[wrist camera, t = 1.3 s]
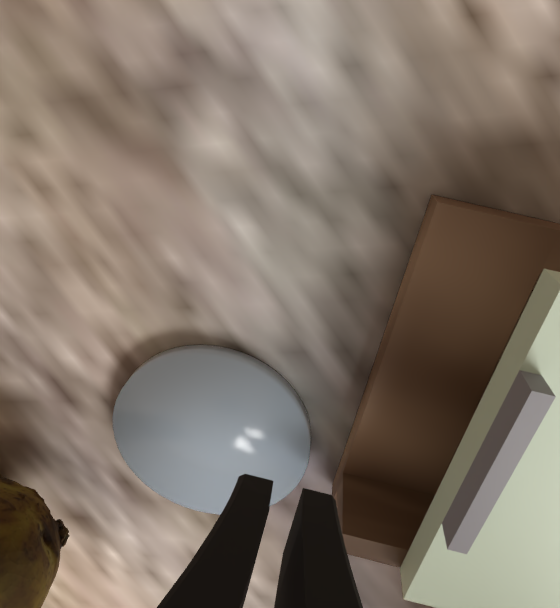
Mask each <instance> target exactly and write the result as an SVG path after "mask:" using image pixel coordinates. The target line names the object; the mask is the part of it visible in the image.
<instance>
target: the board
mask: <svg viewBox="0 0 560 608" xmlns="http://www.w3.org/2000/svg"><path fill="white" fill-rule="evenodd" d="M543 269H548V270H553V271H557V272H560V224H558V223H554V222H550V221H545V220H541V219H536V218H532V217H528V216H523V215H519V214H515V213H510V212H506V211H502V210H497V209H493V208H489V207H484V206H480V205H475V204H471V203H467V202H462V201H458V200H454V199H449V198H445V197H441V196H436V195H431V198H430V201H429V204H428V207H427V210H426V212H425V215H424V218H423V221H422V224H421V227H420V230H419V233H418V236H417V239H416V242H415V245H414V248H413V250H412V253H411V256H410V259H409V262H408V265H407V268H406V271H405V274H404V277H403V280H402V283H401V286H400V289H399V291H398V294H397V297H396V300H395V303H394V306H393V309H392V312H391V315H390V318H389V321H388V324H387V327H386V329H385V332H384V335H383V338H382V341H381V344H380V347H379V350H378V353H377V356H376V359H375V362H374V365H373V367H372V370H371V373H370V376H369V379H368V382H367V385H366V388H365V391H364V394H363V397H362V400H361V403H360V405H359V408H358V411H357V414H356V417H355V420H354V423H353V426H352V429H351V432H350V435H349V438H348V441H347V443H346V446H345V449H344V452H343V455H342V458H341V461H340V464H339V467H338V470H337V473H336V476H335V479H334V481H333V484H332V496H333V498H334V499H335V500H336V506H337V511H338V517H339V522H340V526H341V531H342V535H343V540H344V544H345V548H346V551H347V554H349V555H353V556H357V557H361V558H365V559H369V560H373V561H377V562H380V563H384V564H388V565H392V566H396V567H401V565H402V563H403V561H404V559H405V557H406V555H407V553H408V551H409V549H410V546H411V544H412V542H413V540H414V538H415V536H416V534H417V532H418V530H419V528H420V526H421V524H422V521H423V519H424V517H425V515H426V513H427V511H428V509H429V507H430V505H431V503H432V501H433V499H434V496H435V494H436V492H437V490H438V488H439V486H440V484H441V482H442V480H443V478H444V476H445V473H446V471H447V469H448V467H449V465H450V463H451V461H452V459H453V457H454V455H455V453H456V451H457V448H458V446H459V444H460V442H461V440H462V438H463V436H464V434H465V432H466V430H467V428H468V426H469V423H470V421H471V419H472V417H473V415H474V413H475V411H476V409H477V407H478V405H479V403H480V401H481V399H480V398H481V396H482V394H483V392H484V390H485V388H486V385H487V383H488V381H489V379H490V377H491V375H492V373H493V371H494V369H495V367H496V365H497V362H498V360H499V358H500V356H501V354H502V352H503V350H504V348H505V346H506V344H507V342H508V339H509V337H510V335H511V333H512V331H513V329H514V327H515V325H516V323H517V321H518V319H519V316H520V314H521V312H522V310H523V308H524V306H525V304H526V302H527V300H528V298H529V296H530V293H531V291H532V289H533V287H534V285H535V283H536V281H537V279H538V277H539V275H540V273H542V271H543Z"/></svg>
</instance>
